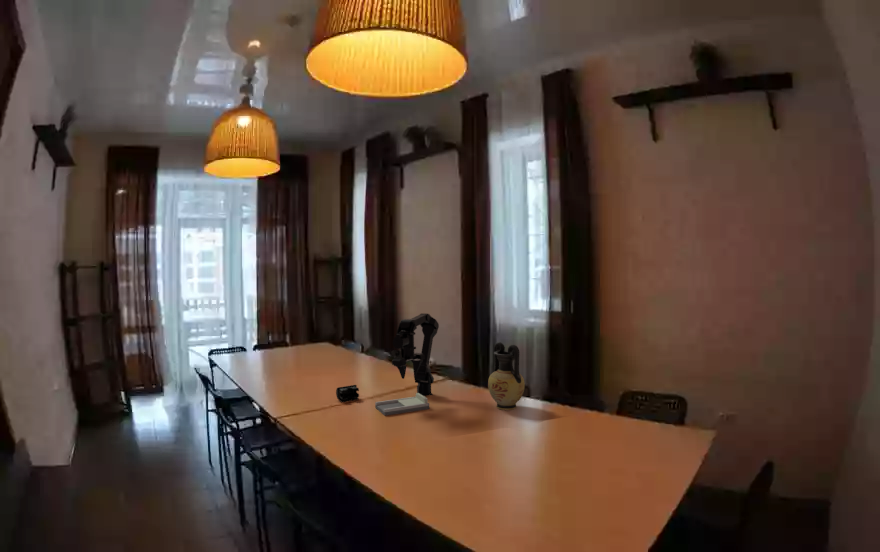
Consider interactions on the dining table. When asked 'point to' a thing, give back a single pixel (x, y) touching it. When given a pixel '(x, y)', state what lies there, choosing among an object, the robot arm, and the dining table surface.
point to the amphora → (506, 377)
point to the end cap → (347, 393)
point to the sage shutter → (413, 400)
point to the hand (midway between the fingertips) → (409, 376)
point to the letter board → (398, 407)
